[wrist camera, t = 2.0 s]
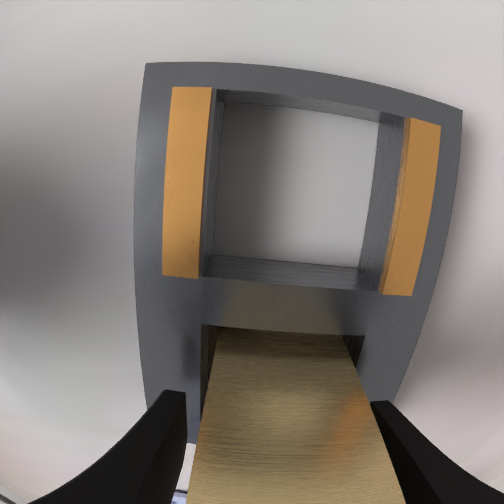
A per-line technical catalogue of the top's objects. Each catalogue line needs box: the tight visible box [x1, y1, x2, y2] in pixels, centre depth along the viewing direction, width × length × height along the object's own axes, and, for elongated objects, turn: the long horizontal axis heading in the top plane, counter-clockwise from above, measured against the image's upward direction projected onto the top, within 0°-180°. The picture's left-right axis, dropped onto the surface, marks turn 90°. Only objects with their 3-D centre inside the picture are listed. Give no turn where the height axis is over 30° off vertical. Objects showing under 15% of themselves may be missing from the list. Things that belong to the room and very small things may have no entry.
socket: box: [134, 62, 463, 444], centre depth 10 cm, size 13×9×2 cm
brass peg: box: [186, 326, 406, 504], centre depth 8 cm, size 4×4×9 cm
